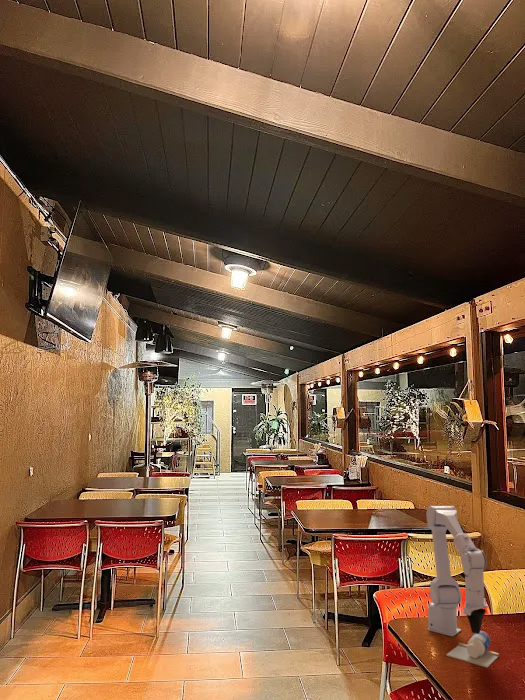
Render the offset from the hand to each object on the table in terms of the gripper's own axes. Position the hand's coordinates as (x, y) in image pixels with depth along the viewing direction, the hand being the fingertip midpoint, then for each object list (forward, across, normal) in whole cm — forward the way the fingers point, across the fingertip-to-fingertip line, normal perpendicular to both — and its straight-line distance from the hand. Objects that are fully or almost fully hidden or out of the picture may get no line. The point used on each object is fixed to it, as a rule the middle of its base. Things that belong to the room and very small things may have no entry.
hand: (475, 632), depth 183 cm
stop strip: (+7, +4, +1) cm, 9 cm away
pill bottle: (+3, +6, 0) cm, 7 cm away
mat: (+7, -1, +1) cm, 8 cm away
